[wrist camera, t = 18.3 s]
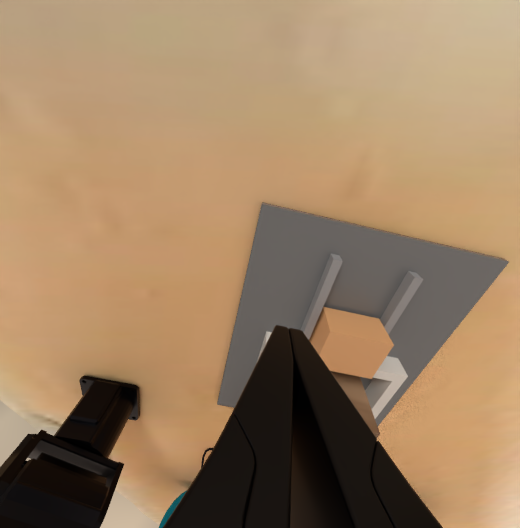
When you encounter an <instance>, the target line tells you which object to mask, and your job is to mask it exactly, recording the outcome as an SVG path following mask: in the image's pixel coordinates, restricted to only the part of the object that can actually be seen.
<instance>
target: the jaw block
mask: <svg viewBox="0 0 520 528" xmlns="http://www.w3.org/2000/svg"><path fill="white" fill-rule="evenodd" d="M331 373H332V374H333V376H334V377H335V379H336V380H337V382H338V383H339V384H340V386H341V387H342V389H343V390H344V392H345V393H346V395H347V396H348V397H349V399H350V400H351V402H352V403H353V405H354V406H355V408H356V409H357V410H358V412H359V413H360V415H361V416H362V418H363V419H364V421H365V422H366V423H367V425H368V426H369V428H370V429H371V431H372V432H373V434H374V435H375V436H376V438H377V437H378V436H379V435H380V432H379V430H378V427H377V424H376V421H375V418H374V415H373V412H372V410H371V407H370V404H369V401H368V398H367V395H366V392H365V390H364V387H363V384H362V381H361V378H360V377H359V376H354V375H349V374H344V373H339V372H334V371H331Z"/></svg>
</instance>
